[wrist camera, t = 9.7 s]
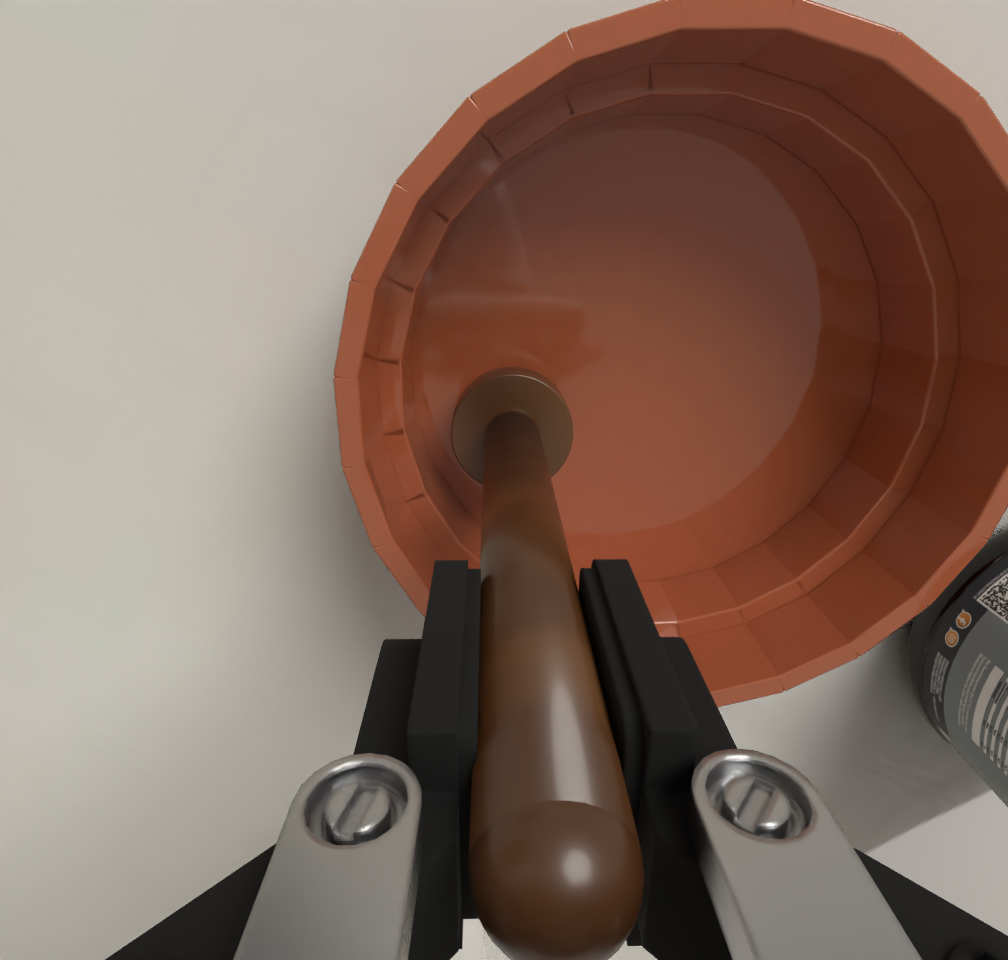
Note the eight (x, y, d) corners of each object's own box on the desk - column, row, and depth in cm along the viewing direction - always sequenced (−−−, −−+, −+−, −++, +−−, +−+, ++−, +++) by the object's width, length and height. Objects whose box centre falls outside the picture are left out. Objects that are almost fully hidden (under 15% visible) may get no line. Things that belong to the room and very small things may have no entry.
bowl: (268, 375, 21) (187, 425, 16) (672, -89, 17) (761, -249, 12) (620, 681, 26) (657, 806, 20) (1009, 369, 22) (1192, 415, 16)
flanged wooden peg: (551, 351, 19) (750, 730, 4) (581, 461, 21) (815, 1047, 6) (437, 385, 20) (264, 850, 5) (472, 491, 21) (424, 1126, 6)
